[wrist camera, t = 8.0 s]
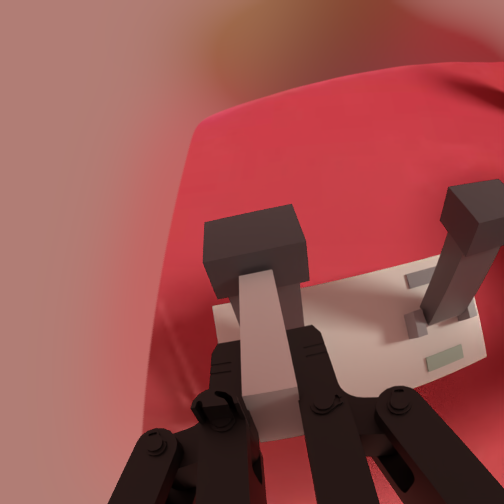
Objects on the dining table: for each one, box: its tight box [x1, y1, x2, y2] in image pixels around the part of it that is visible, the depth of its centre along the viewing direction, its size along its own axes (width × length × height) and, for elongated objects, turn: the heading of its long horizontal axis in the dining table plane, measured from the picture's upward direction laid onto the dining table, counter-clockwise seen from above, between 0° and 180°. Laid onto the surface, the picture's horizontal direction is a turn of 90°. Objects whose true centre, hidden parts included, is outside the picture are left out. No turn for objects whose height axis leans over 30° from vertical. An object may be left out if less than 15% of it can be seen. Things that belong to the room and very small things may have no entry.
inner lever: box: [420, 179, 504, 326], centre depth 16 cm, size 3×4×11 cm
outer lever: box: [203, 204, 310, 330], centre depth 17 cm, size 3×4×11 cm
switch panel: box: [212, 255, 487, 397], centre depth 24 cm, size 10×22×8 cm, turn 100°
